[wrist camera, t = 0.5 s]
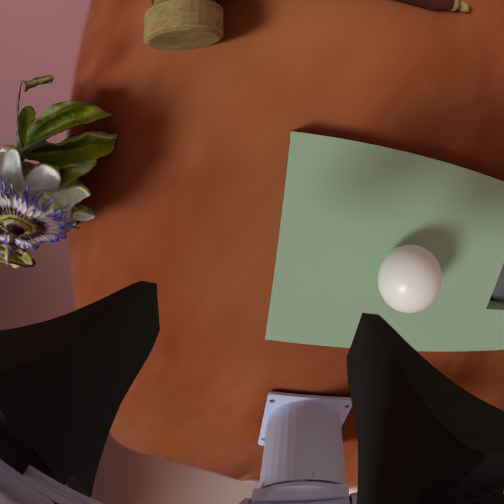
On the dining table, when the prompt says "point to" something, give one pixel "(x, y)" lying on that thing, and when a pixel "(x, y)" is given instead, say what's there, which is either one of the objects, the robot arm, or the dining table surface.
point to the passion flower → (47, 175)
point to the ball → (409, 278)
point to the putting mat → (385, 245)
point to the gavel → (218, 21)
